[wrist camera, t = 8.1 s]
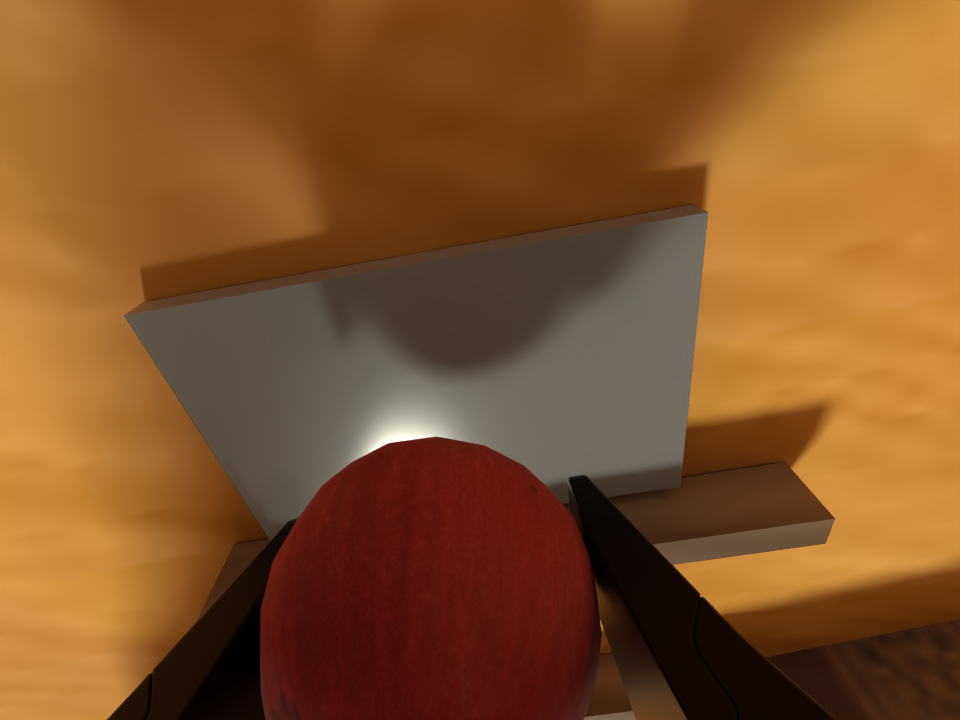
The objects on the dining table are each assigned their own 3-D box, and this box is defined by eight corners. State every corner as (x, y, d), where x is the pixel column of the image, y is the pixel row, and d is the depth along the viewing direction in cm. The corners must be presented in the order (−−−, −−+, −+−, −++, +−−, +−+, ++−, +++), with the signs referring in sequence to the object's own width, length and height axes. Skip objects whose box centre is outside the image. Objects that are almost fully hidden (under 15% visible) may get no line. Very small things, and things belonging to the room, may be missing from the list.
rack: (735, 649, 22) (801, 782, 18) (346, 699, 23) (321, 837, 19) (785, 462, 16) (909, 603, 11) (234, 543, 16) (157, 702, 12)
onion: (425, 558, 13) (390, 1040, 7) (275, 443, 11) (-33, 1031, 4) (594, 471, 12) (780, 988, 5) (464, 313, 9) (480, 921, 2)
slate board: (670, 469, 15) (680, 486, 15) (281, 527, 16) (273, 546, 15) (692, 204, 11) (708, 212, 10) (143, 302, 11) (123, 314, 11)
